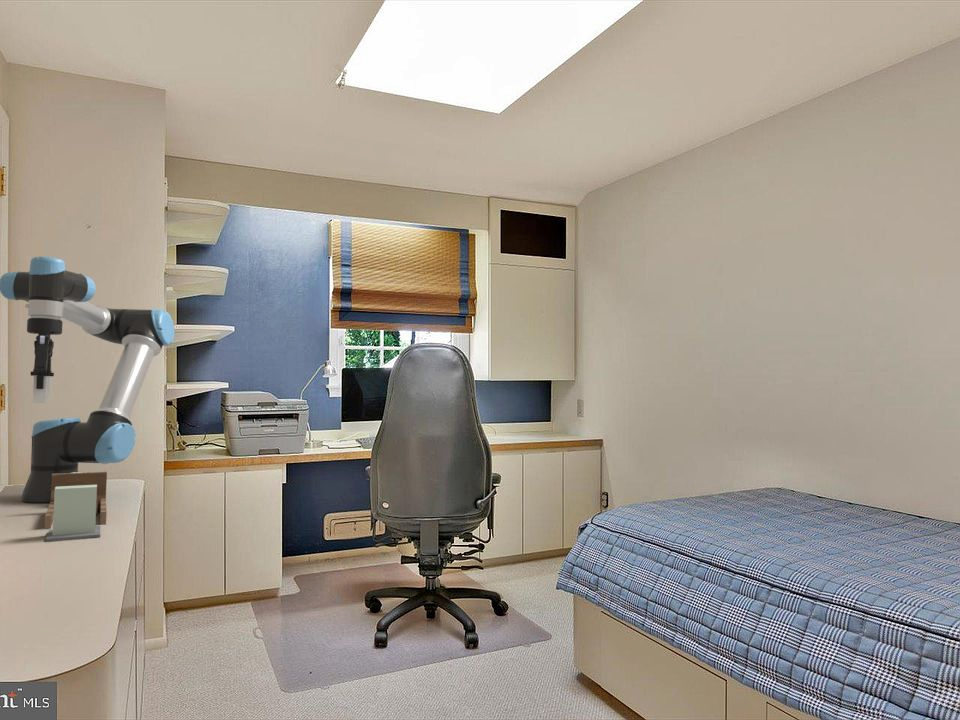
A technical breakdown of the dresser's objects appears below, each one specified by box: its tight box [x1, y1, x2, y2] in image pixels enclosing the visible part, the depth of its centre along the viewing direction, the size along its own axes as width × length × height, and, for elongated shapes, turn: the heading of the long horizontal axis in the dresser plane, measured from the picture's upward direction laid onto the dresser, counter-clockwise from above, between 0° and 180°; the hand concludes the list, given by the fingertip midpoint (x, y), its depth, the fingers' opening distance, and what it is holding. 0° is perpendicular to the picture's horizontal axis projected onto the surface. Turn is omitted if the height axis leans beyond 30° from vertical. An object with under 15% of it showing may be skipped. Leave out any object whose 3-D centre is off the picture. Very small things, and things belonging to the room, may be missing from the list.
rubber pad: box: [45, 525, 101, 542], centre depth 148 cm, size 10×10×1 cm
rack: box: [44, 471, 108, 530], centre depth 167 cm, size 22×12×10 cm, turn 30°
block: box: [52, 485, 97, 535], centre depth 149 cm, size 4×8×10 cm, turn 120°
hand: (41, 402), depth 169 cm, fingers open, 13 cm apart
